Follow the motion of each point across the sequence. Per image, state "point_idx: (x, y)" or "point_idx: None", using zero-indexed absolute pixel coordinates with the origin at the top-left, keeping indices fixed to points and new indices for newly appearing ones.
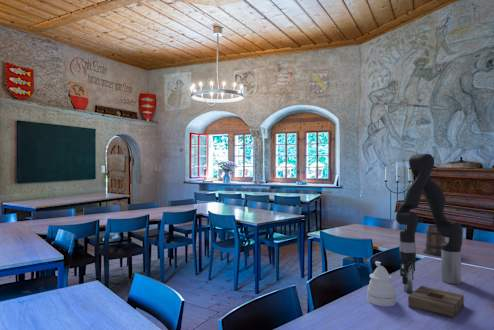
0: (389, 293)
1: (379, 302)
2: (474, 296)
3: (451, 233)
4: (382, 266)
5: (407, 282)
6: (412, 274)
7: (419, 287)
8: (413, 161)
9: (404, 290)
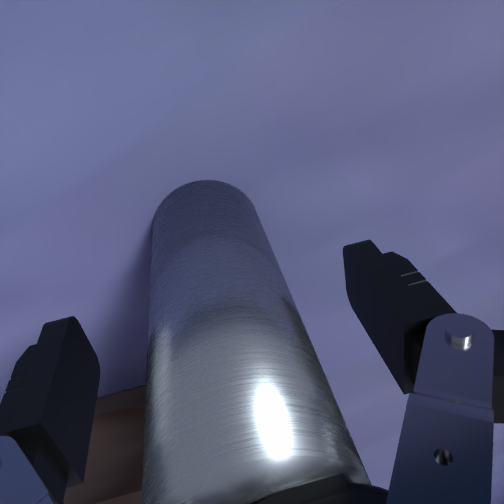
0: None
1: None
2: (491, 492)
3: None
4: None
5: (94, 394)
6: (393, 375)
7: (126, 495)
8: None
9: (159, 212)
